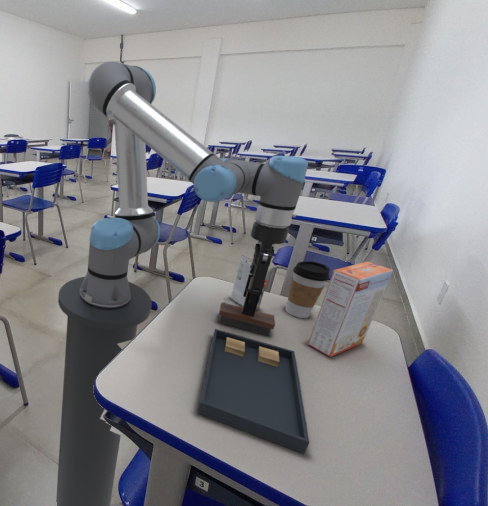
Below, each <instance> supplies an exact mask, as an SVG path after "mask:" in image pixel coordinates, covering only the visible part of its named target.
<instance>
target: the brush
mask: <svg viewBox="0 0 488 506" xmlns="http://www.w3.org/2000/svg"><path fill="white" fill-rule="evenodd" d="M251 281H252V277H251V280H250V283H249V287H248V289H249V288H250V285H251ZM247 293H248V292H247ZM246 296H247V294H246ZM245 300H246V298H245ZM244 303H245V301H244ZM243 307H244V305H243V306H239V305H234V304H230V303H226V302H222V301H221V303H220V305H219V312H218V316H219V319H218V323H219V324H221V325H222V324H223V325H226V326H230V327H233V328H237V329H241V330H244V331H249V332H251V333H254V334H259V335H263V336H266V337H269V336H270V333H271V330H275V327H276V320H275V315H274V314H270V313H266V312H262V311H258V310H256V311H255V314H254V317H253V316H249V315H245V314H242V311H243Z"/></svg>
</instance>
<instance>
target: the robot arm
mask: <svg viewBox="0 0 488 506" xmlns="http://www.w3.org/2000/svg"><path fill="white" fill-rule="evenodd" d="M156 94H157V86H156V81H155V79H154V77H153V75H152V74H151V73H150V72H149V71H148V70H146V69H145V68H142V67H141V66H138V65H130V64H126V63H122V62H117V61H106V62H103V63H101V64H99V65H98V66H96V67H95V69H94V70H93V71H92V72H91V74H90V76H89V78H88V82H87V95H88V98H89V100H90V101H91V104H92V105H93V106H94V107H95V108H96V109H97V110H98V111H99V112H100V113H102V114H103V115H104V117H106V118H108V121H109V122H110V123H111V124H112V125H113V126H114V138H115V141H114V142H115V152H116V153H115V154H116V155H115V156H116V157H115V158H116V172H117V173H116V175H117V189H118V190H117V191H118V208H117V210H116V211H115V212H114V217H110V218H108V217H105V218H101V219H99V220H97V221H95V222H94V223H93V224H92V226H91V228H90V229H91V230H90V234H89V248H88V250H89V251H88V261H87V272H86V274H85V276H84V277H85V278H84V280H83V283H82V285H81V288H80V298H81V299H82V301H83V302H85V303H86V304H88V305H90V306H92V307H95V308H99V309H108V310H112V309H119V308H122V307H125V306H126V305H128V304H129V302H130V297H131V293H130V288H129V283H128V282H129V279H128V271H129V265H130V264H129V263H130V260H131V259H133V258H135V257H137V256H140V255H141V254H143V253H147V252H148V251H150V250H151V249H152V248H153V247H155V246H156V244H157V243H158V241H159V240H160V236H161V226H160V223H159V221H158V220H156V217H155V216H154V209H153V208H151V206H149V199H148V197H149V196H148V175H147V152H146V146H147V147H149V148H150V149H151V150H152V151H153V152H154V153H156V154H157V155H158V156H159V157H161V158H162V159H163V160H164V161H165V162H166V163H168V164H169V165H170V166H171V167H172V168H173V169H175V170H176V171H177V172H178V173H180V174H181V175H182V176H183V177H184V178H186V180H188V181H189V182H190V183H191V184H193V189H194V192H195V194H196V196H197V197H198V198H200V199H201V200H202V201H204V202H209V203H212V202H221V201H223V200H226V199H228V198H230V197H231V196H234V195H236V194H238V193H239V194H244V195H251V196H256V197H257V196H258V197H260V198H259V201H258V204H257V208H256V212H255V216H254V220H255V221H254V222H253V223H252V228H251V232H250V237H251V238H252V239H253V240H256V241H258V242H256V243H255V245H254V252H253V258H252V260H253V261H252V262H251V264H250V265H251V266H250V269H251V270H250V274H249V276H248V280H247V284H246V287H245V291H244V294H243V297H246V300H245V303H244V307H243V306H242V308H243V311H242V314H245V315H249V316H253V317H254V314H255V311H257V310H256V308H257V304H258V301H259V298H260V295H262V293H263V292H262V291H263V287H264V283H265V279H267V275H268V271H269V268H270V266H271V262H272V259H273V256H274V254H275V246H273V245H283V244H284V243H286V241H287V237H288V233H289V232H290V228H289V227H290V226H291V224H292V221H293V219H292V218H296V217H297V213H296V212H295V210H296V208H297V205H298V201H299V199H300V196H301V194H302V193H301V192H302V190H303V186H304V183H305V180H306V179H305V178H306V175H307V172H308V171H307V170H308V167H309V163H308V161H307V160H306V158H303V157H296V156H290V155H289V156H288V155H286V156H285V155H273V156H272V157H271V158H270V160H269V161H268V163H267V162H266V163H265V162H264V163H262V162H253V161H247V160H240V159H235V158H220V157H219V156H217V154H215V153H214V152H212V151H211V150H210V149H209V148H208V147H207V146H205V145H204V144H203V143H201V142H200V141H199V140H197V139H196V138H195V137H194V136H192V134H190V133H189V132H187V131H186V130H185V129H183V128H182V127H181V126H180V125H179V124H178V123H176V122H174V121H173V119H171V118H170V117H168V116H167V115H166V114H164V113H163V112H162V111H161V110H159V109H158V108H157V107H155V106H154V105H153V102H154V100H155V99H156ZM251 277H252V281H251V285H250V288H249V289H248V287H249V283H250V280H251ZM247 292H248V293H247ZM246 294H247V296H246ZM263 294H264V293H263Z"/></svg>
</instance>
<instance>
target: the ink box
mask: <svg viewBox="0 0 488 506" xmlns="http://www.w3.org/2000/svg"><path fill="white" fill-rule="evenodd" d="M252 261H253V259H251V258H249V257H247V256H245V255H243V254H242V255H241V257H240V260H239V264H238V267H237V270H236V275H235V278H234V282H233V286H232V290H231V294H230V299H231V300H232V301H233V302H235V303H237V304H238V305H240V306H241V307H243V305H244V301H245V298H246V297H243V294H244V291H245V287H246V284H247V280H248V276H249V274H250V270H251V269H250V266H251V264H250V263H252ZM267 284H268V279H267V278H266V279H265V283H264V287H263V291H262V292H263V293H262V295H260V298H259V301H258V304H257V308H256V311H258V310H260V306H261V303H262V300H263V296H264V294H265V291H266V287H267Z"/></svg>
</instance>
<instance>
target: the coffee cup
mask: <svg viewBox="0 0 488 506" xmlns="http://www.w3.org/2000/svg"><path fill="white" fill-rule="evenodd" d="M292 271H293V276H292V277H291V281H290V286H289V291H288V294H287V301H286V304H285V312H286V313H288V314H289V315H291V316H293V317H296V318H298V319H299V318H300V319H307V318H309V317H310V315H311V313H312V311H313V309H314V307H315V305H316V303H317V302H318V299H319V298H320V295H321V294H322V291H323V290H324V288H325V284H326V282H327V281H329V278H330V271H331V268H330V267H329V266H327V265H325V264H324V263H321V262H318V261H312V260H311V261H310V260H306V261H305V260H303V261H299V262H297V263H296V265H295V266H294V267H293V269H292Z"/></svg>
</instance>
